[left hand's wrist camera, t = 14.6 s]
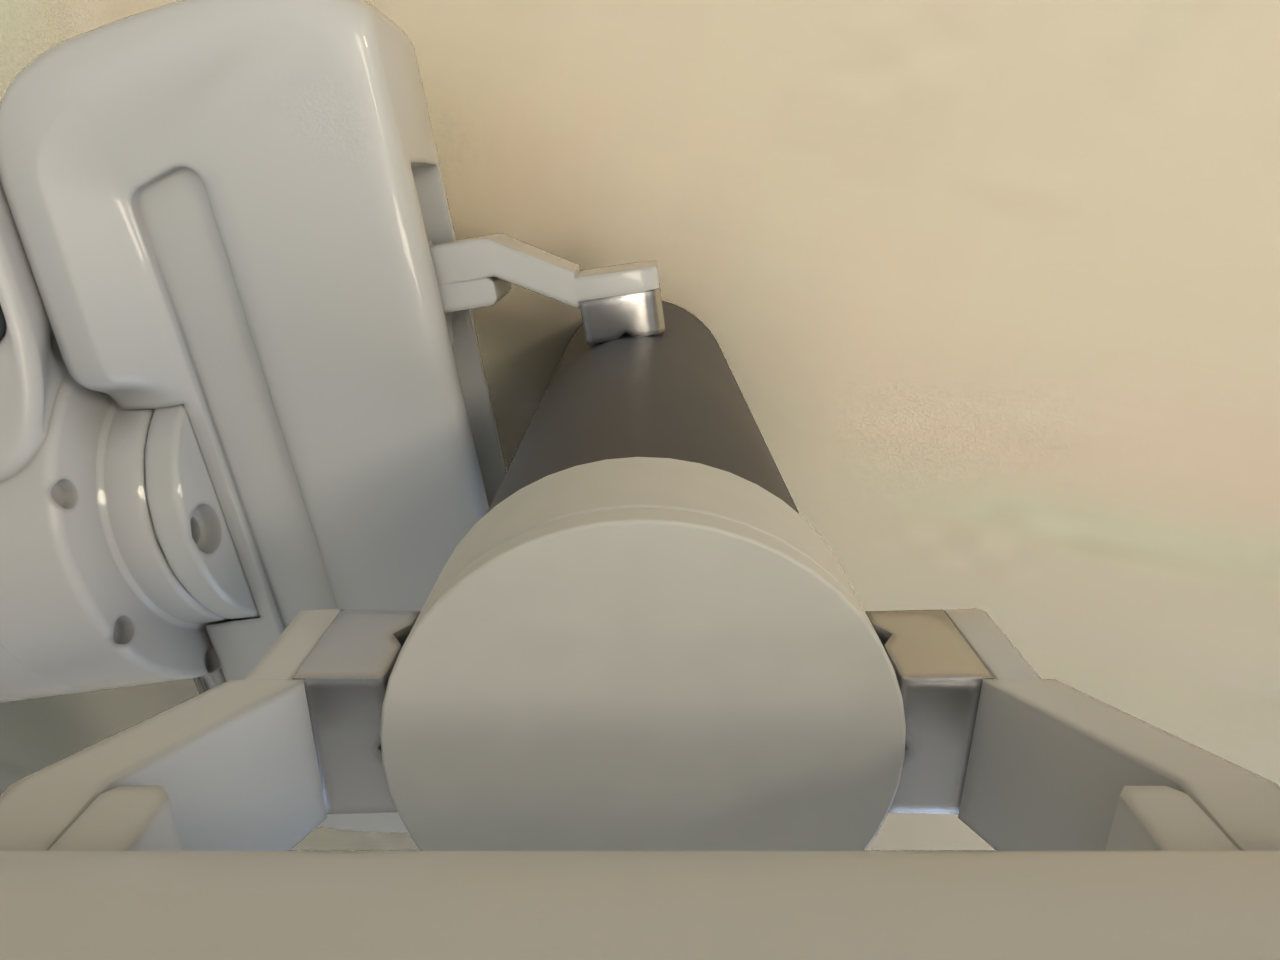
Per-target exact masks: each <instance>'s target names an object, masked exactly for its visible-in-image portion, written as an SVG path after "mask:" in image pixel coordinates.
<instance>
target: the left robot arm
mask: <svg viewBox="0 0 1280 960" xmlns="http://www.w3.org/2000/svg"><path fill="white" fill-rule="evenodd" d="M420 612H421V611H393V610H343V609H315V610H303V611H300V612H299V613H298V614H297V615H296V616H295V618H294V619H293V620H292V621H291V623H290V624H289V625H288V626H287V627H286V629H285V630H284V631H283V632H282V634H281V635H280V636H279V637H278V638H277V640H276V641H275V642H274V643H273V645H272V646H271V647H270V648H269V649H268V651H267V652H266V653H265V654H264V656H263V657H262V658H261V659H260V660H259V662H258V663H257V664H256V665H255V667H254V668H253V669H252V670H251V671H250V673H249V674H248V675H247V676H246V678H245V679H233V680H229V681H227V682H225V683H223V684H221V685H218V686H216V687H214V688H212V689H210V690H208V691H206V692H204V693H202V694H199V695H197V696H195V697H193V698H191V699H189V700H187V701H185V702H182V703H180V704H178V705H176V706H174V707H172V708H170V709H168V710H166V711H163V712H161V713H159V714H157V715H155V716H153V717H151V718H149V719H146V720H144V721H142V722H140V723H138V724H136V725H134V726H132V727H130V728H127V729H125V730H123V731H121V732H119V733H117V734H115V735H113V736H110V737H108V738H106V739H104V740H102V741H100V742H98V743H96V744H94V745H91V746H89V747H87V748H85V749H83V750H81V751H79V752H77V753H74V754H72V755H70V756H68V757H66V758H64V759H62V760H60V761H58V762H55V763H53V764H51V765H49V766H47V767H45V768H43V769H41V770H38V771H36V772H34V773H32V774H30V775H28V776H26V777H24V778H22V779H19V780H17V781H15V782H13V783H12V784H11V785H10V786H9V787H8V788H7V789H6V790H5V791H4V792H3V793H2V794H0V960H1280V787H1279V786H1278V785H1277V784H1276V783H1274V782H1271V781H1269V780H1267V779H1265V778H1263V777H1261V776H1259V775H1257V774H1254V773H1252V772H1250V771H1248V770H1246V769H1244V768H1242V767H1240V766H1237V765H1235V764H1233V763H1231V762H1229V761H1227V760H1225V759H1223V758H1220V757H1218V756H1216V755H1214V754H1212V753H1210V752H1208V751H1206V750H1203V749H1201V748H1199V747H1197V746H1195V745H1193V744H1191V743H1189V742H1186V741H1184V740H1182V739H1180V738H1178V737H1176V736H1174V735H1172V734H1170V733H1167V732H1165V731H1163V730H1161V729H1159V728H1157V727H1155V726H1153V725H1150V724H1148V723H1146V722H1144V721H1142V720H1140V719H1138V718H1136V717H1133V716H1131V715H1129V714H1127V713H1125V712H1123V711H1121V710H1119V709H1116V708H1114V707H1112V706H1110V705H1108V704H1106V703H1104V702H1102V701H1099V700H1097V699H1095V698H1093V697H1091V696H1089V695H1087V694H1085V693H1082V692H1080V691H1078V690H1076V689H1074V688H1072V687H1070V686H1068V685H1065V684H1063V683H1061V682H1059V681H1057V680H1053V679H1041V678H1040V677H1039V675H1038V674H1037V673H1036V672H1035V671H1034V669H1033V668H1032V667H1031V666H1030V665H1029V663H1028V662H1027V661H1026V660H1025V659H1024V657H1023V656H1022V655H1021V654H1020V653H1019V651H1018V650H1017V649H1016V648H1015V647H1014V645H1013V644H1012V643H1011V642H1010V641H1009V639H1008V638H1007V637H1006V636H1005V635H1004V633H1003V632H1002V631H1001V630H1000V629H999V627H998V626H997V625H996V624H995V623H994V621H993V620H992V619H991V618H990V617H989V615H988V614H987V613H986V612H985V611H982V610H980V609H957V610H907V611H866V614H867V616H868V618H869V620H870V622H871V624H872V626H873V628H874V629H875V631H876V633H877V635H878V637H879V639H880V641H881V643H882V645H883V647H884V649H885V651H886V653H887V655H888V658H889V660H890V662H891V664H892V666H893V668H894V671H895V674H896V678H897V681H898V684H899V688H900V691H901V695H902V699H903V707H904V715H905V723H906V736H905V756H904V761H903V766H902V771H901V776H900V782H899V785H898V788H897V791H896V794H895V796H894V799H893V802H892V804H891V807H890V810H889V812H892V813H929V814H959V816H958V818H959V819H960V820H962V821H963V822H964V823H965V824H966V825H967V826H969V827H970V828H971V829H972V830H973V831H974V832H976V833H977V834H978V835H979V836H980V837H981V838H983V839H984V840H985V841H986V842H987V843H988V844H990V845H991V846H992V847H993V848H994V849H995V850H997V851H290V850H291V849H292V848H293V847H294V846H295V845H297V844H298V843H299V842H300V841H301V840H302V839H303V838H305V837H306V836H307V835H308V834H309V833H310V832H312V831H313V830H314V829H315V828H316V827H317V826H319V825H320V824H321V823H322V822H323V821H324V820H325V819H327V814H356V813H391V812H398V811H397V809H396V806H395V804H394V802H393V799H392V797H391V794H390V792H389V788H388V784H387V780H386V776H385V772H384V768H383V763H382V751H381V740H380V729H381V716H382V705H383V701H384V697H385V693H386V689H387V685H388V680H389V677H390V675H391V672H392V670H393V667H394V665H395V663H396V660H397V658H398V655H399V653H400V651H401V649H402V647H403V645H404V643H405V641H406V639H407V637H408V635H409V634H410V631H411V629H412V627H413V625H414V624H415V622H416V620H417V618H418V616H419V614H420Z"/></svg>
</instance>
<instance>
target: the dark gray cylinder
mask: <svg viewBox="0 0 1280 960" xmlns="http://www.w3.org/2000/svg"><path fill="white" fill-rule="evenodd" d="M662 307H663V315H664V324H665V331H663V332H661V333H659V334H655V335H650V336H644V337H642V336H638V337H634V336H632V335H630V334H628V333H626V332H625V333H624V334H623V335H622V336H621V337H620V338H618V339H617V340H613V341H609V342H602V343H595V344H588V345H587V340H586V335H585V330H584V325H583V324H582V325H581V326H580V327H579V328H578V330H577V331H576V332H575V333H574V335H573V336H572V338H571V339H570V341H569V343H568V345H567V347H566V349H565V351H564V353H563V355H562V357H561V359H560V361H559V363H558V365H557V367H556V370H555V372H554V374H553V376H552V378H551V380H550V382H549V384H548V386H547V388H546V390H545V392H544V395H543V397H542V399H541V401H540V403H539V405H538V407H537V409H536V411H535V413H534V415H533V418H532V420H531V422H530V424H529V426H528V428H527V430H526V432H525V434H524V436H523V438H522V440H521V443H520V445H519V447H518V449H517V451H516V453H515V455H514V457H513V459H512V461H511V463H510V466H509V468H508V470H507V472H506V474H505V476H504V478H503V480H502V482H501V484H500V486H499V488H498V491H497V493H496V495H495V497H494V499H493V501H492V503H491V505H490V507H489V509H488V511H487V513H488V512H489V511H490V510H492V509H493V508H494V507H495V506H496V505H497V504H499V503H500V502H502V501H503V500H505V499H506V498H508V497H509V496H511V495H512V494H514V493H515V492H517V491H518V490H520V489H521V488H524V487H526V486H528V485H530V484H532V483H534V482H536V481H538V480H540V479H542V478H544V477H546V476H548V475H551V474H554V473H557V472H559V471H562V470H565V469H568V468H571V467H574V466H577V465H582V464H587V463H592V462H596V461H601V460H606V459H617V458H630V457H654V458H671V459H677V460H683V461H689V462H695V463H701V464H704V465H707V466H711V467H714V468H717V469H720V470H724V471H727V472H730V473H732V474H735V475H737V476H739V477H741V478H744V479H746V480H748V481H750V482H752V483H755V484H757V485H759V486H760V487H762V488H763V489H765V490H767V491H768V492H770V493H772V494H773V495H775V496H776V497H778V498H780V499H781V500H783V501H784V502H785V503H786V504H788V505H789V506H790V507H791V508H792V509H794V510H795V511H796V512H797V513H799V512H798V510H797V508H796V506H795V504H794V502H793V500H792V497H791V495H790V493H789V491H788V489H787V487H786V485H785V483H784V481H783V479H782V477H781V474H780V472H779V470H778V468H777V466H776V464H775V462H774V460H773V458H772V456H771V454H770V451H769V449H768V447H767V445H766V443H765V441H764V439H763V437H762V435H761V433H760V431H759V428H758V426H757V424H756V422H755V420H754V418H753V416H752V414H751V412H750V410H749V408H748V405H747V403H746V401H745V399H744V397H743V395H742V393H741V391H740V389H739V387H738V384H737V382H736V380H735V378H734V376H733V374H732V372H731V370H730V368H729V366H728V364H727V361H726V359H725V357H724V355H723V353H722V351H721V349H720V347H719V345H718V343H717V341H716V339H715V338H714V336H713V335H712V333H711V332H710V331H709V329H708V328H707V327H706V326H705V325H704V324H703V323H702V322H701V321H700V320H699V319H697V318H696V317H695V316H694V315H693V314H691V313H689V312H688V311H686V310H685V309H683V308H681V307H678V306H676V305H674V304H671V303H668V302H664V301H662Z"/></svg>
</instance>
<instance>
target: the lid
mask: <svg viewBox="0 0 1280 960" xmlns="http://www.w3.org/2000/svg"><path fill="white" fill-rule="evenodd" d="M905 736H906V723H905V715H904V707H903V699H902V695H901V691H900V688H899V684H898V681H897V678H896V674H895V671H894V668H893V666H892V664H891V662H890V660H889V658H888V655H887V653H886V651H885V649H884V647H883V645H882V643H881V641H880V639H879V637H878V635H877V633H876V631H875V629H874V628H873V626H872V624H871V622H870V620H869V618H868V616H867V614H866V612H865V611H864V609H863V607H862V605H861V603H860V601H859V599H858V597H857V595H856V594H855V592H854V590H853V588H852V586H851V584H850V582H849V580H848V578H847V577H846V575H845V573H844V571H843V569H842V567H841V565H840V563H839V561H838V560H837V558H836V557H835V555H834V554H833V553H832V551H831V550H830V548H829V547H828V545H827V544H826V542H825V541H824V539H823V538H822V537H821V536H820V535H819V534H818V533H817V532H816V530H815V529H814V528H813V527H812V526H811V525H810V524H809V523H808V522H807V521H806V519H805V518H803V517H802V516H801V515H800V514H799V513H797V512H796V511H795V510H794V509H792V508H791V507H790V506H789V505H788V504H786V503H785V502H784V501H783V500H781V499H780V498H778V497H776V496H775V495H773V494H772V493H770V492H768V491H767V490H765V489H763V488H762V487H760V486H759V485H757V484H755V483H752V482H750V481H748V480H746V479H744V478H741V477H739V476H737V475H735V474H732V473H730V472H727V471H724V470H720V469H717V468H714V467H711V466H707V465H704V464H701V463H695V462H689V461H683V460H677V459H671V458H654V457H630V458H617V459H606V460H601V461H596V462H592V463H587V464H582V465H577V466H574V467H571V468H568V469H565V470H562V471H559V472H557V473H554V474H551V475H548V476H546V477H544V478H542V479H540V480H538V481H536V482H534V483H532V484H530V485H528V486H526V487H524V488H521V489H520V490H518V491H517V492H515V493H514V494H512V495H511V496H509V497H508V498H506V499H505V500H503V501H502V502H500V503H499V504H497V505H496V506H495V507H494V508H493V509H492V510H490V511H489V512H488V513H487V514H486V515H485V516H484V517H483V518H482V519H480V520H479V521H478V522H477V523H476V524H475V525H474V526H473V527H472V528H471V530H470V531H469V532H468V533H467V534H466V536H465V537H464V538H463V539H462V540H461V542H460V543H459V544H458V545H457V547H456V548H455V550H454V551H453V553H452V555H451V556H450V558H449V560H448V561H447V563H446V565H445V566H444V568H443V570H442V571H441V573H440V575H439V577H438V579H437V581H436V583H435V585H434V587H433V589H432V591H431V593H430V595H429V597H428V598H427V600H426V602H425V604H424V606H423V608H422V610H421V612H420V614H419V616H418V618H417V620H416V622H415V624H414V625H413V627H412V629H411V631H410V634H409V635H408V637H407V639H406V641H405V643H404V645H403V647H402V649H401V651H400V653H399V655H398V658H397V660H396V663H395V665H394V667H393V670H392V672H391V675H390V677H389V680H388V685H387V689H386V693H385V697H384V701H383V705H382V716H381V729H380V740H381V751H382V763H383V768H384V772H385V776H386V780H387V784H388V788H389V792H390V794H391V797H392V799H393V802H394V804H395V806H396V809H397V811H398V814H399V816H400V818H401V820H402V822H403V823H404V825H405V827H406V828H407V830H408V832H409V833H410V835H411V837H412V838H413V840H414V842H415V843H416V844H417V846H418V847H419V848H420V849H421V851H865V849H866V848H867V846H868V845H869V844H870V842H871V841H872V840H873V838H874V837H875V836H876V834H877V832H878V830H879V829H880V827H881V825H882V823H883V821H884V819H885V817H886V816H887V814H888V812H889V810H890V807H891V804H892V802H893V799H894V796H895V794H896V791H897V788H898V785H899V782H900V776H901V771H902V766H903V761H904V756H905Z"/></svg>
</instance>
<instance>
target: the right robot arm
mask: <svg viewBox="0 0 1280 960" xmlns="http://www.w3.org/2000/svg"><path fill="white" fill-rule="evenodd" d="M511 283H513V284H515V285H518V286H520V287H523V288H526V289H528V290H531V291H534V292H536V293H539V294H542V295H544V296H547V297H549V298H552V299H555V300H557V301H560V302H563V303H565V304H568V305H571V306H573V307H576V308H578V309H579V307H580V309H581V314H582V319H583V325H584V330H585V335H586V340H587V345H588V344H595V343H602V342H609V341H613V340H617V339H618V338H620V337H621V336H622V335H623V334H624V333H625V332H626V333H628V334H630V335H632V336H634V337H638V336H642V337H644V336H650V335H655V334H659V333H661V332H663V331H665V324H664V315H663V307H662V299H661V291H660V284H659V277H658V269H657V263H656V261H642V262H635V263H628V264H621V265H615V266H608V267H601V268H595V269H588V270H580V265H578V264H575V263H573V262H571V261H568V260H566V259H563V258H561V257H558V256H556V255H553V254H551V253H549V252H546V251H544V250H541V249H539V248H536V247H534V246H531V245H529V244H527V243H524V242H522V241H519V240H517V239H514V238H512V237H509V236H507V235H505V234H502V233H501V234H494V235H488V236H481V237H475V238H468V239H461V240H456V237H455V232H454V227H453V223H452V218H451V214H450V209H449V204H448V200H447V195H446V190H445V186H444V181H443V177H442V172H441V167H440V163H439V158H438V154H437V149H436V144H435V140H434V135H433V131H432V126H431V121H430V117H429V112H428V108H427V103H426V98H425V94H424V89H423V84H422V80H421V75H420V70H419V65H418V61H417V57H416V53H415V49H414V46H413V44H412V42H411V40H410V39H409V37H408V36H407V34H406V33H405V32H404V31H403V30H402V29H401V28H400V27H398V26H397V25H396V24H395V23H394V22H392V21H391V20H390V19H389V18H388V17H386V16H385V15H384V14H383V13H382V12H380V11H379V10H378V9H377V8H376V7H374V6H373V5H371V4H370V3H369V2H367V1H366V0H181V1H178V2H174V3H171V4H167V5H164V6H160V7H157V8H154V9H151V10H148V11H145V12H142V13H138V14H135V15H132V16H129V17H126V18H123V19H120V20H118V21H115V22H112V23H110V24H107V25H104V26H101V27H99V28H96V29H93V30H91V31H88V32H85V33H83V34H80V35H77V36H75V37H73V38H71V39H68V40H66V41H64V42H62V43H59V44H57V45H55V46H54V47H52V48H50V49H49V50H47V51H45V52H44V53H42V54H41V55H39V56H38V57H36V58H35V59H34V60H32V61H31V62H30V63H29V64H28V65H27V66H26V67H25V68H23V69H22V70H21V72H20V73H19V74H18V75H17V76H16V77H15V78H14V80H13V81H12V83H11V84H10V85H9V87H8V89H7V90H6V92H5V94H4V96H3V98H2V101H1V104H0V702H11V701H16V700H24V699H32V698H41V697H49V696H57V695H65V694H73V693H81V692H88V691H96V690H103V689H113V688H121V687H129V686H137V685H145V684H153V683H160V682H168V681H176V680H184V679H191V678H193V679H194V682H195V684H196V687H197V689H198V692H199V694H202V693H204V692H206V691H208V690H210V689H212V688H214V687H216V686H218V685H221V684H223V683H225V682H227V681H229V680H233V679H245V678H246V676H247V675H248V674H249V673H250V671H251V670H252V669H253V668H254V667H255V665H256V664H257V663H258V662H259V660H260V659H261V658H262V657H263V656H264V654H265V653H266V652H267V651H268V649H269V648H270V647H271V646H272V645H273V643H274V642H275V641H276V640H277V638H278V637H279V636H280V635H281V634H282V632H283V631H284V630H285V629H286V627H287V626H288V625H289V624H290V623H291V621H292V620H293V619H294V618H295V616H296V615H297V614H298V613H299V612H300V611H303V610H315V609H343V610H393V611H421V610H422V608H423V606H424V604H425V602H426V600H427V598H428V597H429V595H430V593H431V591H432V589H433V587H434V585H435V583H436V581H437V579H438V577H439V575H440V573H441V571H442V570H443V568H444V566H445V565H446V563H447V561H448V560H449V558H450V556H451V555H452V553H453V551H454V550H455V548H456V547H457V545H458V544H459V543H460V542H461V540H462V539H463V538H464V537H465V536H466V534H467V533H468V532H469V531H470V530H471V528H472V527H473V526H474V525H475V524H476V523H477V522H478V521H479V520H480V519H482V518H483V517H484V516H485V515H486V514H487V511H488V509H489V507H490V505H491V503H492V501H493V499H494V497H495V495H496V493H497V491H498V488H499V486H500V484H501V482H502V480H503V478H504V476H505V474H506V467H505V463H504V458H503V453H502V449H501V444H500V439H499V435H498V430H497V426H496V421H495V416H494V412H493V407H492V403H491V398H490V393H489V389H488V384H487V380H486V375H485V370H484V366H483V361H482V357H481V352H480V347H479V343H478V338H477V333H476V329H475V324H474V320H473V315H472V310H471V309H472V308H479V307H485V306H491V305H494V304H495V303H496V302H498V301H499V300H500V299H501V298H503V297H504V296H505V295H506V294H508V292H509V291H510V290H511ZM322 827H325V828H330V829H337V830H345V831H356V832H376V833H409V832H408V830H407V828H406V827H405V825H404V823H403V822H402V820H401V818H400V816H399V814H398V812H391V813H356V814H327V819H325V820H324V821H323V822H322V823H321V824H320V825H319V826H317V827H316V828H322Z"/></svg>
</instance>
